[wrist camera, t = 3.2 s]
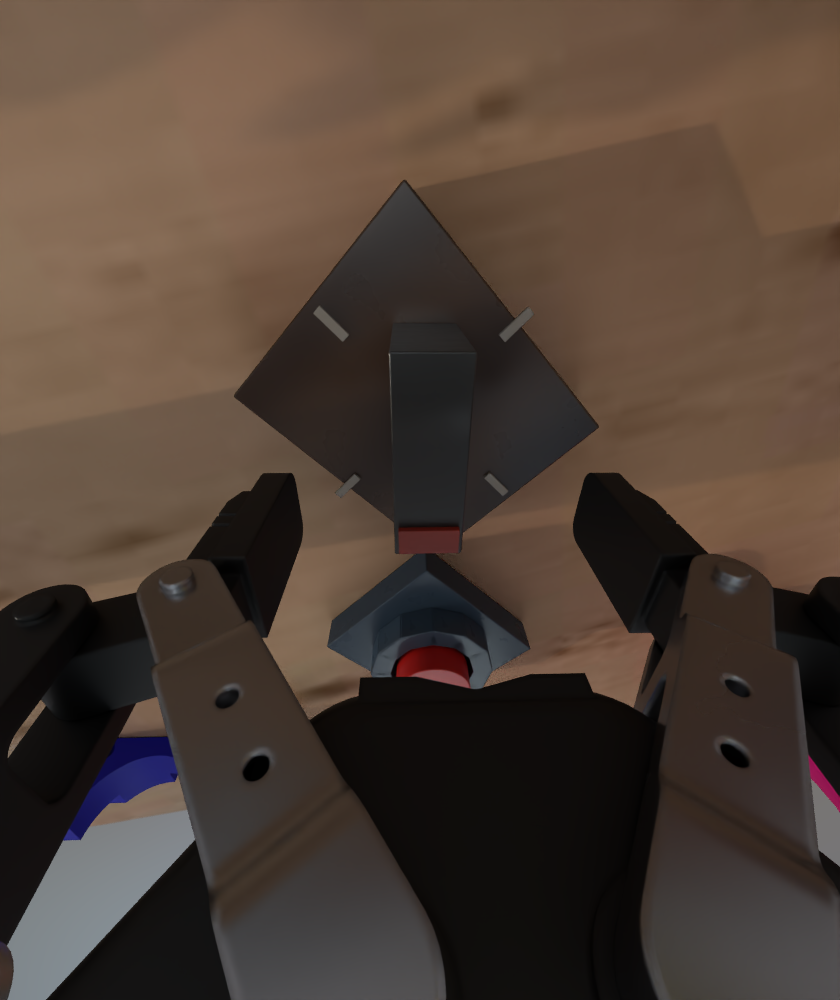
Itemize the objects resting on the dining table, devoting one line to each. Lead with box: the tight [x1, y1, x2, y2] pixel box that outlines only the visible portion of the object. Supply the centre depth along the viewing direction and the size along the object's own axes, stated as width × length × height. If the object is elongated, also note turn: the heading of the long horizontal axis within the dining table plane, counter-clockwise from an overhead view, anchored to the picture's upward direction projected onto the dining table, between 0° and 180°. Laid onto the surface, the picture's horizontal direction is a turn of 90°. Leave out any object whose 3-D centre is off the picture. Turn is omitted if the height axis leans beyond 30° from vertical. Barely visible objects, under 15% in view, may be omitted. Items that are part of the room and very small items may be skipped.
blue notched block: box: [63, 737, 178, 840], centre depth 33 cm, size 12×4×6 cm, turn 89°
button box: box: [327, 553, 530, 689], centre depth 26 cm, size 10×9×4 cm
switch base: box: [234, 180, 599, 554], centre depth 18 cm, size 12×11×3 cm
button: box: [396, 645, 471, 688], centre depth 24 cm, size 4×4×2 cm
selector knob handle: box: [389, 323, 477, 554], centre depth 15 cm, size 7×2×5 cm, turn 0°
